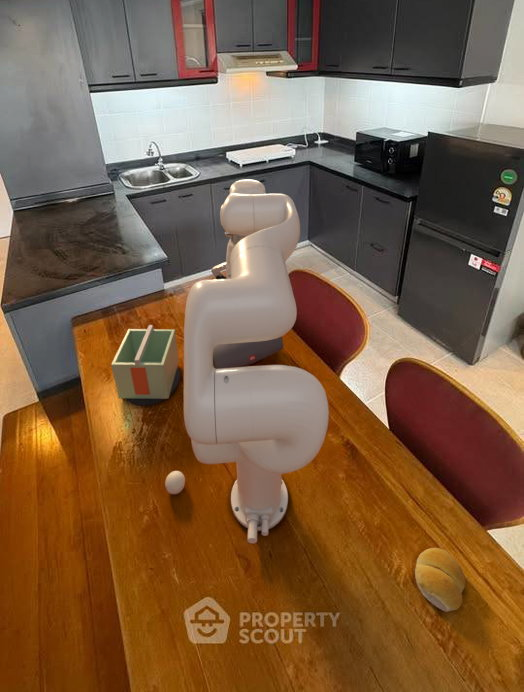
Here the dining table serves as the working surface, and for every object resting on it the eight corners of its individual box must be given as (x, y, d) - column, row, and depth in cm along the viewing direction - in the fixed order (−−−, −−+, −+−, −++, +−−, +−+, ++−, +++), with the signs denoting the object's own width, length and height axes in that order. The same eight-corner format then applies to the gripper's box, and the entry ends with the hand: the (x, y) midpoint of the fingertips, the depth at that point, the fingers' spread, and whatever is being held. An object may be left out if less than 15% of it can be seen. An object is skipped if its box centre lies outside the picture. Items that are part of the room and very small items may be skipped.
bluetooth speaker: (218, 386, 112) (216, 361, 107) (206, 365, 119) (204, 340, 115) (284, 359, 122) (285, 334, 117) (269, 341, 129) (270, 317, 125)
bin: (168, 399, 106) (162, 361, 100) (118, 398, 106) (109, 360, 100) (178, 361, 119) (174, 325, 113) (134, 360, 119) (127, 324, 113)
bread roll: (466, 571, 73) (471, 560, 71) (456, 623, 66) (462, 613, 64) (422, 541, 77) (425, 530, 75) (408, 587, 70) (412, 577, 69)
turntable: (173, 406, 106) (172, 403, 105) (112, 405, 106) (111, 403, 105) (184, 360, 121) (184, 358, 121) (131, 360, 121) (131, 357, 121)
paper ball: (183, 498, 84) (182, 486, 82) (164, 498, 84) (161, 486, 82) (187, 478, 88) (185, 466, 86) (168, 478, 88) (166, 466, 86)
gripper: (206, 243, 81) (211, 307, 88) (287, 245, 80) (285, 310, 87) (212, 227, 87) (216, 288, 95) (287, 229, 87) (285, 290, 94)
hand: (249, 299), depth 91 cm, fingers open, 9 cm apart
